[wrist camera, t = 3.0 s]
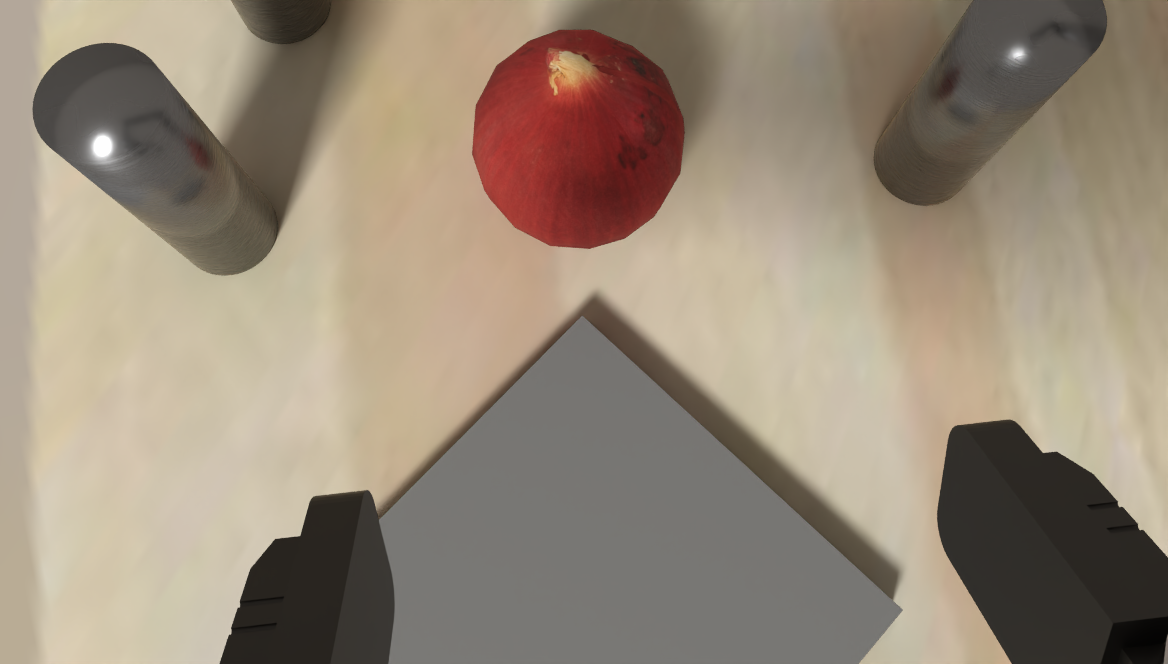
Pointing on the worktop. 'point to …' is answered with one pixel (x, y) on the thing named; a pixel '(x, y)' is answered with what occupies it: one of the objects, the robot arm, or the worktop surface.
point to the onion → (578, 138)
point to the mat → (612, 538)
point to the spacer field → (301, 5)
